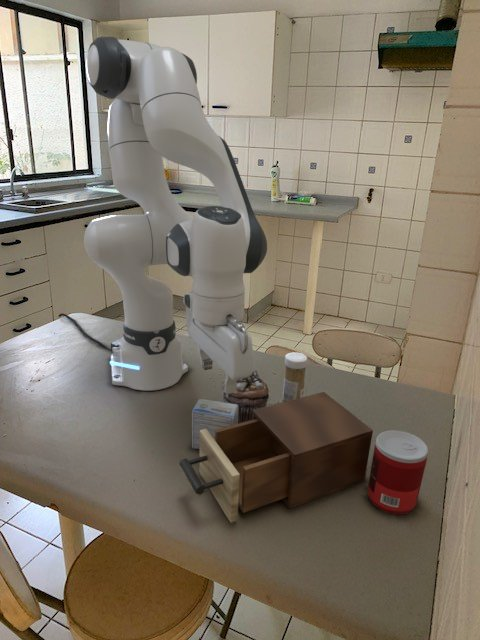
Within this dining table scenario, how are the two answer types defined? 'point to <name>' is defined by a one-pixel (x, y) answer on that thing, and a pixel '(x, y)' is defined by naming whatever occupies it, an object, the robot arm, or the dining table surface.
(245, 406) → the cupcake
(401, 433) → the canned food
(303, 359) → the sprinkles bottle
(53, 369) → the dining table surface
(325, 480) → the cabinet
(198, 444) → the medicine box
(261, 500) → the drawer
